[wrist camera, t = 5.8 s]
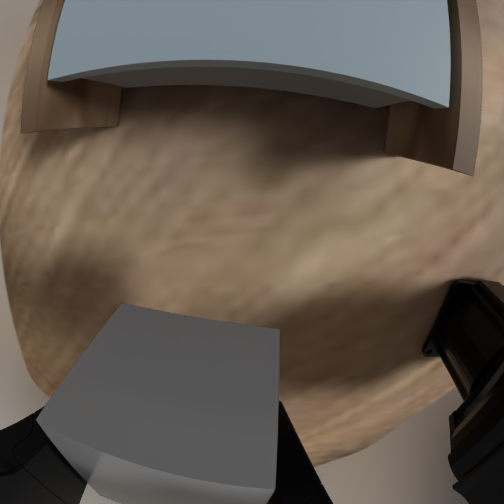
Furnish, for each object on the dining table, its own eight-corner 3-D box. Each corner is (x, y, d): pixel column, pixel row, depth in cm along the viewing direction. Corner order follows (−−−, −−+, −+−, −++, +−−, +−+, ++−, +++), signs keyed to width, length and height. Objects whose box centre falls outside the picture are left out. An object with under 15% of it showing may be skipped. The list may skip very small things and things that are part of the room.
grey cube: (259, 421, 10) (248, 531, 6) (141, 399, 11) (99, 495, 6) (279, 329, 8) (274, 489, 4) (122, 303, 9) (35, 420, 4)
